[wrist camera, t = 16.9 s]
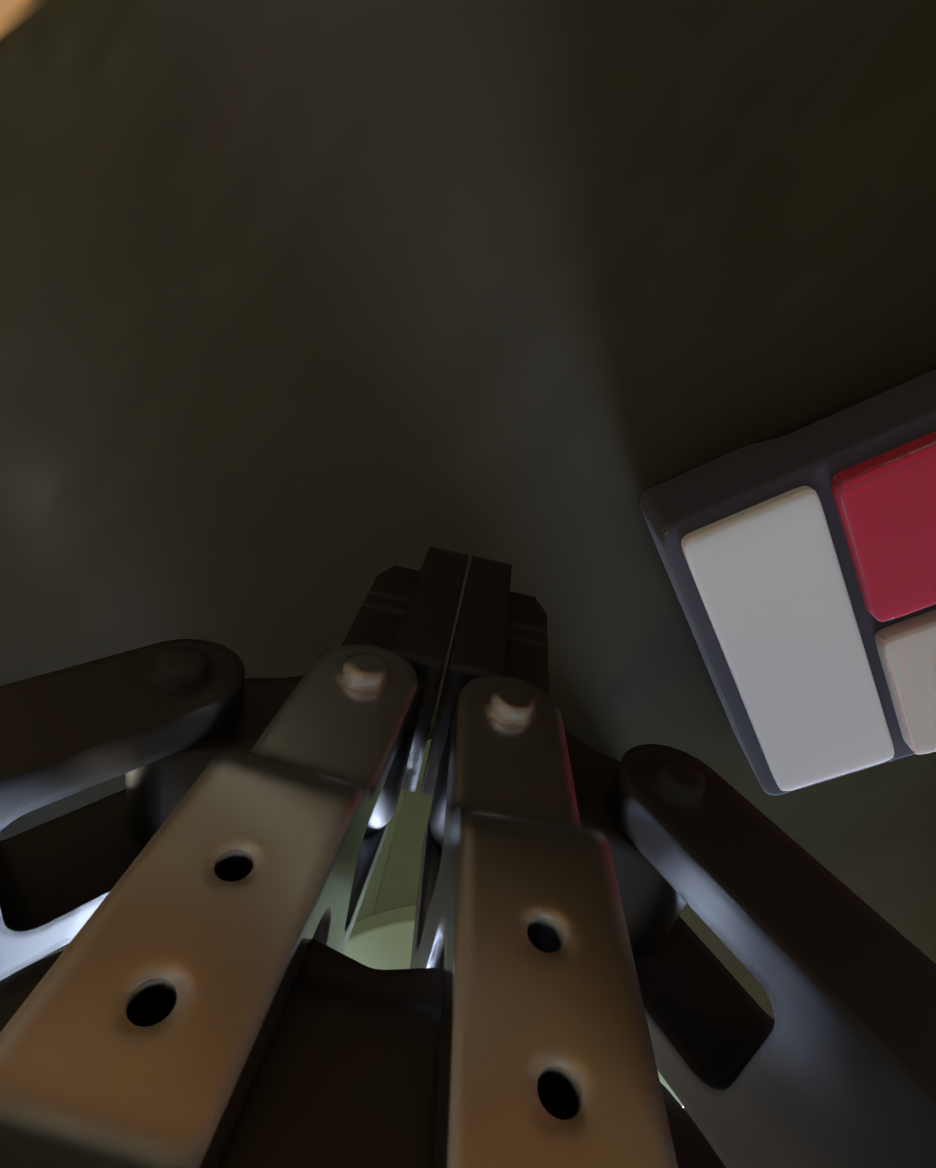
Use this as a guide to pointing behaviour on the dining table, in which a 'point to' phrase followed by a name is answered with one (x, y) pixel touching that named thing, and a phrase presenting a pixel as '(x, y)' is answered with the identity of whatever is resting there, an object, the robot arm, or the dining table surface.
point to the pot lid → (393, 944)
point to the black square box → (815, 586)
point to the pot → (400, 853)
